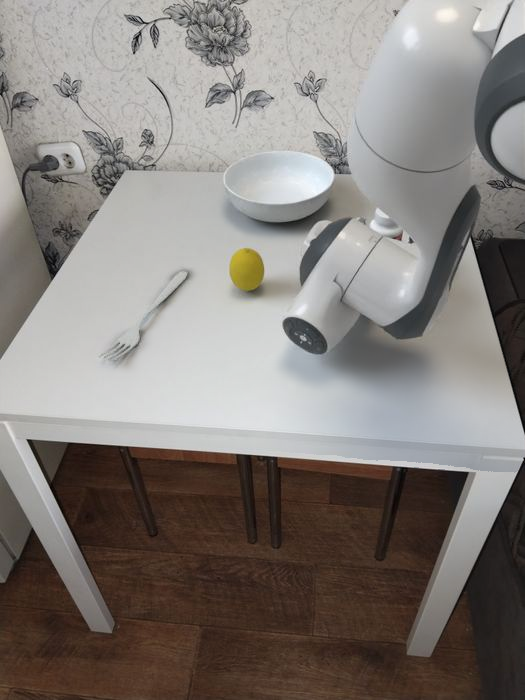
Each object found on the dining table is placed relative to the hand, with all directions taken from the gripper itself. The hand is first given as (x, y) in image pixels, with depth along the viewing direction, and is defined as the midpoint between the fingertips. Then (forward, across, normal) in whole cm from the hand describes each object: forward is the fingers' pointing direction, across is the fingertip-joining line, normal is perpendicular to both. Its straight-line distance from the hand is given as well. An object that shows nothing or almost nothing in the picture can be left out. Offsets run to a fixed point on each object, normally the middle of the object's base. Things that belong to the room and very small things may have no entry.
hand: (389, 228), depth 96 cm
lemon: (-17, +17, +7) cm, 25 cm away
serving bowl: (+7, +25, +7) cm, 27 cm away
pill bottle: (-1, 0, +6) cm, 6 cm away
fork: (-30, +27, +7) cm, 41 cm away
